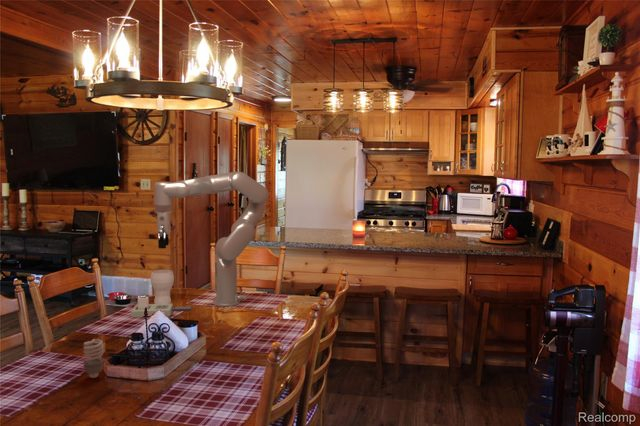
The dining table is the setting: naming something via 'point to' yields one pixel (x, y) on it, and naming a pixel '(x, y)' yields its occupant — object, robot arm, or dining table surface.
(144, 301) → the block
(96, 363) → the light bulb
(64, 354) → the dining table surface
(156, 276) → the cup
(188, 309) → the phone
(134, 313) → the outlet board
